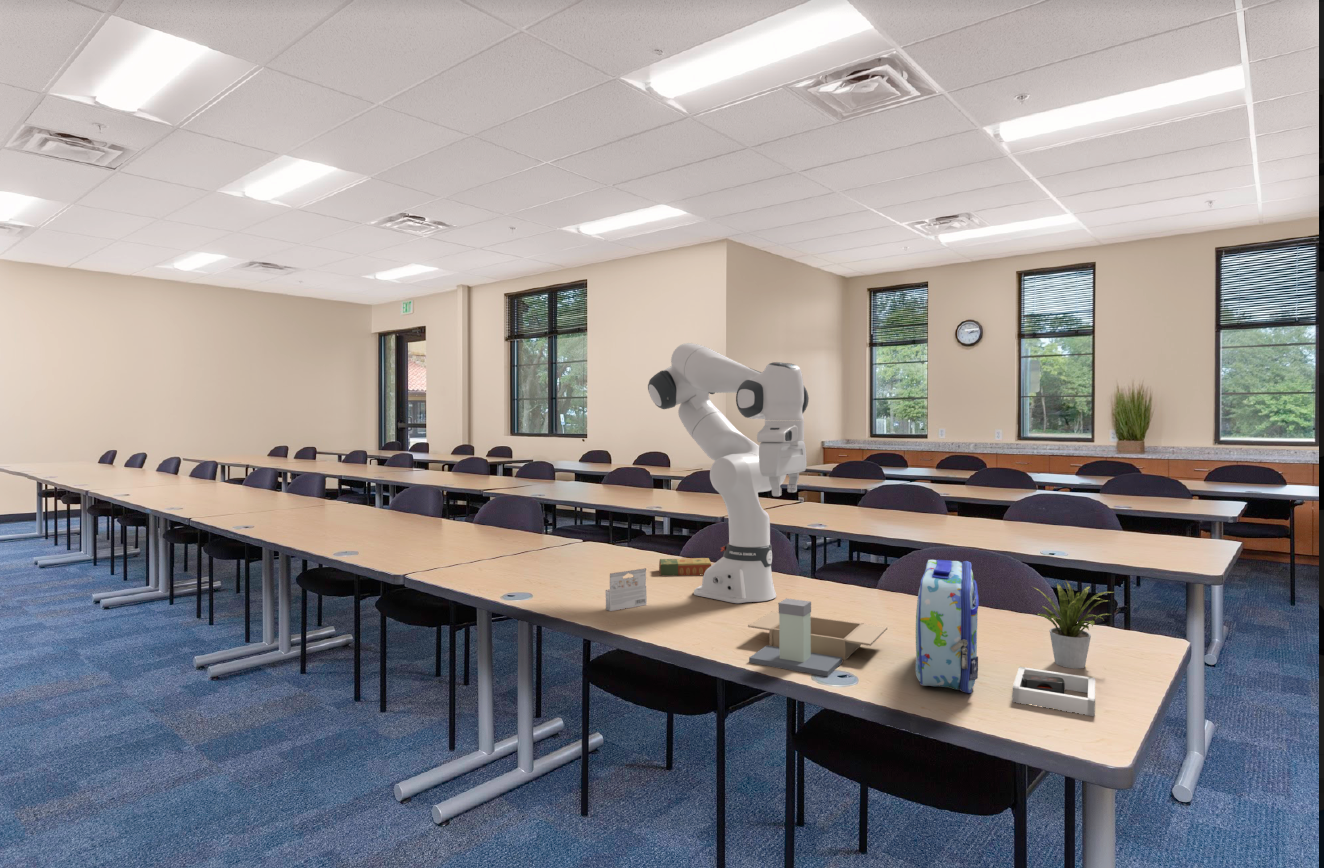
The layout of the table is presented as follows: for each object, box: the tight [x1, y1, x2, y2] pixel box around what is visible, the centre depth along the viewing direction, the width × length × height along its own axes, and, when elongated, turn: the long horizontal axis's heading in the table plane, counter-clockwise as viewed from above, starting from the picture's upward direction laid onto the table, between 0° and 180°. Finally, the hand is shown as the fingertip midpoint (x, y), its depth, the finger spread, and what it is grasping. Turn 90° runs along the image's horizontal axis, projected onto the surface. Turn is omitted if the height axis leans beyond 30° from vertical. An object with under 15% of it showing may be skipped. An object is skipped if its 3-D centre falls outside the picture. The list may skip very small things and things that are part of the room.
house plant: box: [1032, 580, 1114, 670], centre depth 141 cm, size 14×14×16 cm
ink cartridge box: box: [604, 567, 648, 612], centre depth 188 cm, size 2×11×10 cm, turn 123°
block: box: [778, 597, 812, 662], centre depth 144 cm, size 5×4×11 cm
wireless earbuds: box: [1022, 674, 1066, 694], centre depth 126 cm, size 5×7×3 cm, turn 71°
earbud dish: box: [1011, 666, 1096, 717], centre depth 126 cm, size 12×12×2 cm
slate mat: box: [748, 644, 843, 677], centre depth 145 cm, size 16×9×1 cm, turn 59°
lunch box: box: [915, 559, 980, 694], centre depth 137 cm, size 26×11×21 cm, turn 157°
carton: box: [658, 557, 712, 576], centre depth 230 cm, size 8×16×4 cm, turn 92°
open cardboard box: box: [747, 610, 888, 661], centre depth 156 cm, size 26×14×4 cm, turn 59°
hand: (784, 494), depth 166 cm, fingers open, 8 cm apart
